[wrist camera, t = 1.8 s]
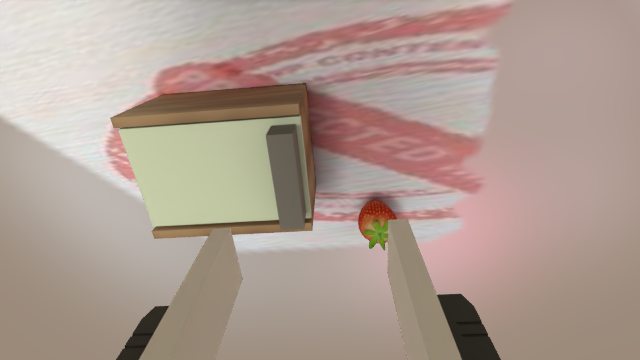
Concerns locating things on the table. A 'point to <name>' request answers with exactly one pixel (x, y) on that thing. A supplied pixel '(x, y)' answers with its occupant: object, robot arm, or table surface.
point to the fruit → (375, 222)
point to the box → (227, 108)
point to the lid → (222, 171)
